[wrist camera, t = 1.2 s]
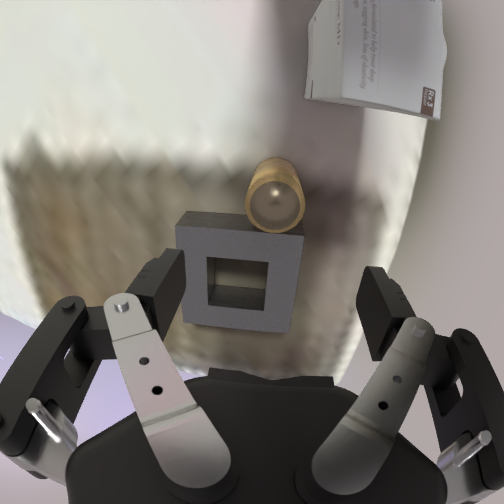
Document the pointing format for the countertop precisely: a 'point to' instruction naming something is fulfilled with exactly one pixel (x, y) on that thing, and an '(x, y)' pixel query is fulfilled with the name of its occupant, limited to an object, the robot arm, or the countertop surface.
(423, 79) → the skincare box
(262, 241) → the collar
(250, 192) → the piston
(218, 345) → the countertop surface
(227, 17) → the countertop surface
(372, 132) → the countertop surface
